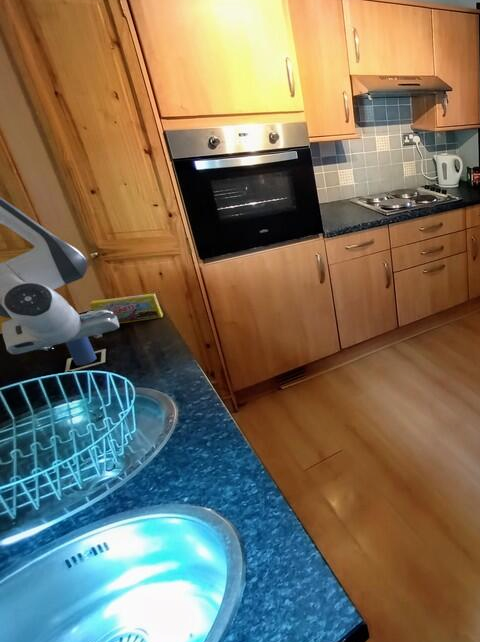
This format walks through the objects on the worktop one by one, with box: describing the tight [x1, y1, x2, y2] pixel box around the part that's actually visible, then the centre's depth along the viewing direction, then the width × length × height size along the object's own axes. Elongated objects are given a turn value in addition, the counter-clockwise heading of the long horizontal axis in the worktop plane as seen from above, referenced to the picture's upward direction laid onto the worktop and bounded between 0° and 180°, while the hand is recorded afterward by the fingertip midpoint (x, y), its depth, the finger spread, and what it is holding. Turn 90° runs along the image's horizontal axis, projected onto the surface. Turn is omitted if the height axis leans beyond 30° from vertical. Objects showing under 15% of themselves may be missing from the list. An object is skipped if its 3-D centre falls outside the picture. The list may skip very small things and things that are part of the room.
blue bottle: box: [64, 337, 97, 367], centre depth 120 cm, size 4×4×12 cm
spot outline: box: [64, 348, 107, 373], centre depth 122 cm, size 8×8×1 cm
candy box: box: [89, 292, 164, 325], centre depth 140 cm, size 16×2×8 cm, turn 111°
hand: (74, 340), depth 117 cm, fingers open, 8 cm apart
